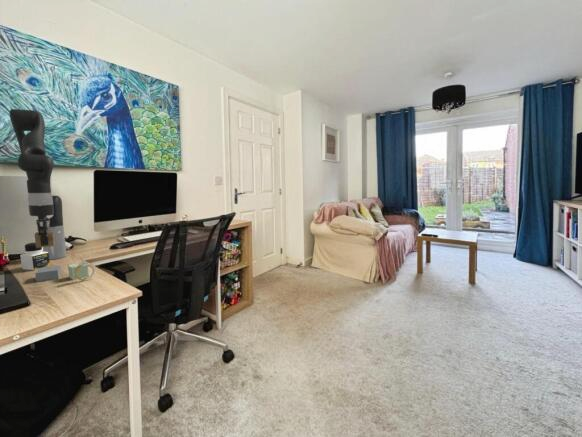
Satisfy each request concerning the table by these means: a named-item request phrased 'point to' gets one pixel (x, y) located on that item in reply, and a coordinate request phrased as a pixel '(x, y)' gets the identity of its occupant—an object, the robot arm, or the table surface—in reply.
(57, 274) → the base block
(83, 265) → the bracelet
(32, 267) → the medicine bottle
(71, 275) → the sage cube
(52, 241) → the walnut cube
